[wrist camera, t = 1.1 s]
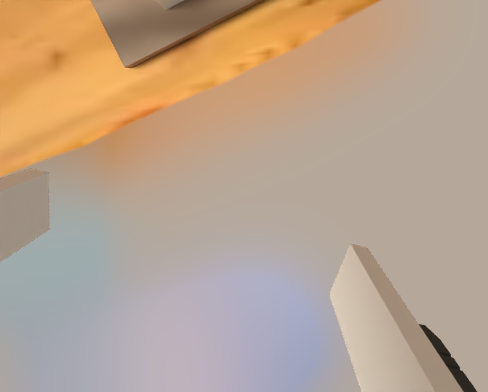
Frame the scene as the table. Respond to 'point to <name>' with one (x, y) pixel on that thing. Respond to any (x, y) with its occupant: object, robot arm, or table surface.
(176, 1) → the box
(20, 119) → the table surface
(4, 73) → the table surface
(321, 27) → the table surface
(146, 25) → the mounting board
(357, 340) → the robot arm
